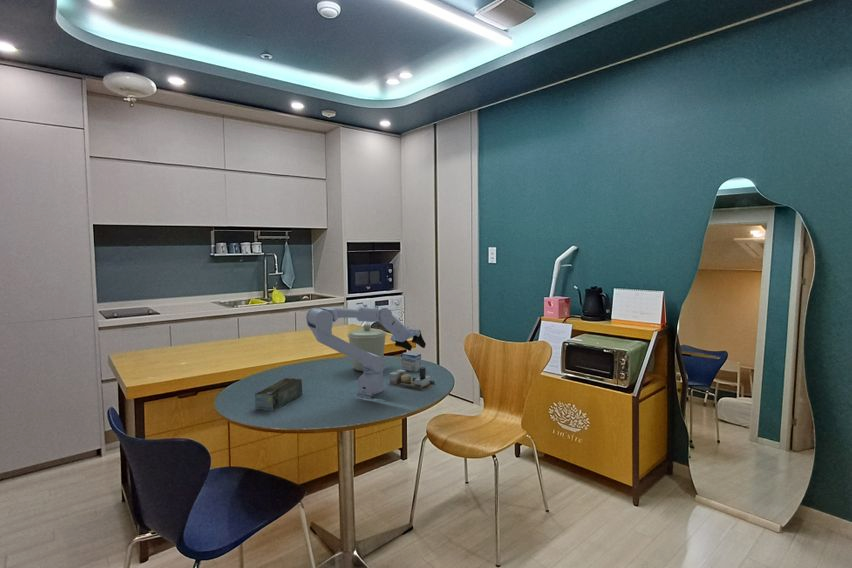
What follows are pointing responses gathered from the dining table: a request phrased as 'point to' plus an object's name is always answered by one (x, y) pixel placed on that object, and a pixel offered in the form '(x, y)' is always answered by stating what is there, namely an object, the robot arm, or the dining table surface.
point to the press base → (396, 381)
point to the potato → (406, 379)
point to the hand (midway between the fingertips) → (417, 347)
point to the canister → (367, 342)
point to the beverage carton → (278, 394)
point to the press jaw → (423, 378)
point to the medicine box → (411, 361)
